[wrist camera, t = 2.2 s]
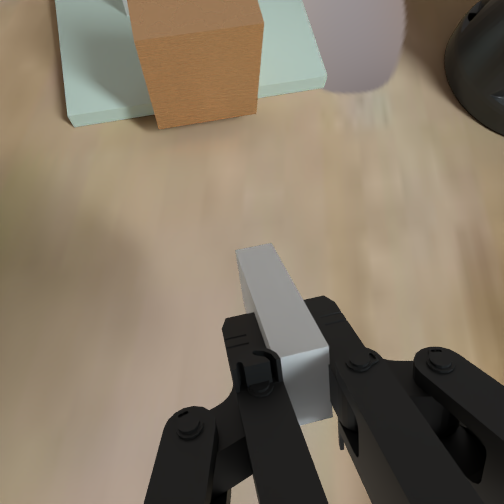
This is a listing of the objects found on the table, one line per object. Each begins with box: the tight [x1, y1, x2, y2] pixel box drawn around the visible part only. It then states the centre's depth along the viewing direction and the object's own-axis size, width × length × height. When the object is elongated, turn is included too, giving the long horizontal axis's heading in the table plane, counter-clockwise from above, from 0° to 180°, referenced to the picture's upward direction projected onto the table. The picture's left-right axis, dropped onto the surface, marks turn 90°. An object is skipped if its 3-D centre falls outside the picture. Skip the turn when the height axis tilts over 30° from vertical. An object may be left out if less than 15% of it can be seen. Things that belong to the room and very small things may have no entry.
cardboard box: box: [127, 0, 264, 129], centre depth 32 cm, size 8×13×9 cm, turn 13°
